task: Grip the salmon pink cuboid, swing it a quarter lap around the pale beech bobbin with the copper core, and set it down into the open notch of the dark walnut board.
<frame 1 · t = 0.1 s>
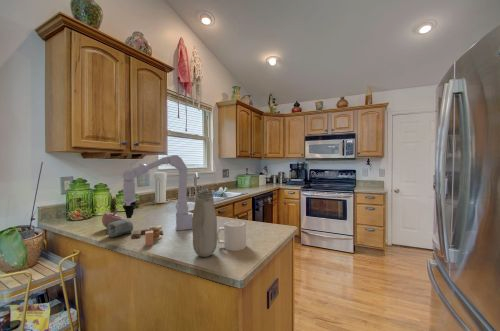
hand: (130, 216, 130), 10 cm above the counter, fingers open, 7 cm apart
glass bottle: (205, 255, 100), on the counter
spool: (120, 235, 131), on the counter
bobbin: (155, 238, 124), on the counter
salmon pink cuboid: (149, 244, 115), on the counter
mug: (232, 246, 110), on the counter
notched board: (147, 234, 130), on the counter
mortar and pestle: (114, 229, 142), on the counter
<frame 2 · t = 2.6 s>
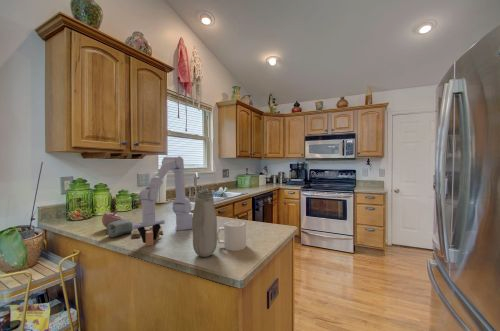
hand: (149, 241, 115), 1 cm above the counter, fingers closed on salmon pink cuboid, 4 cm apart
salmon pink cuboid: (149, 244, 115), on the counter, touching gripper
everything else where it was.
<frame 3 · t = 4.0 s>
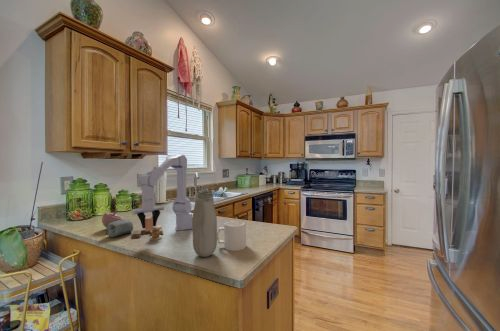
hand: (149, 226, 115), 8 cm above the counter, fingers closed on salmon pink cuboid, 4 cm apart
salmon pink cuboid: (149, 229, 115), point 7 cm above the counter, touching gripper
everything else where it was.
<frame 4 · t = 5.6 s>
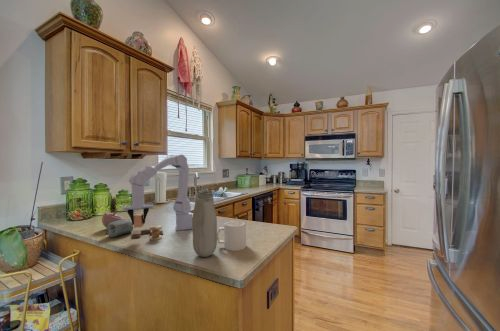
hand: (138, 223, 121), 8 cm above the counter, fingers closed on salmon pink cuboid, 4 cm apart
salmon pink cuboid: (138, 226, 121), point 7 cm above the counter, touching gripper
everything else where it was.
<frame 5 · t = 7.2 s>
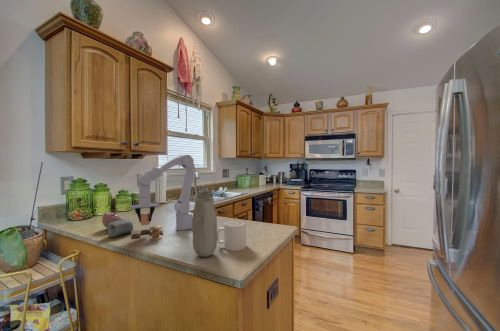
hand: (145, 221, 129), 7 cm above the counter, fingers closed on salmon pink cuboid, 4 cm apart
salmon pink cuboid: (145, 224, 129), point 6 cm above the counter, touching gripper
everything else where it was.
when the fingers open (3 cm above the counter, at t = 8.6 s): salmon pink cuboid drops 2 cm, on the counter.
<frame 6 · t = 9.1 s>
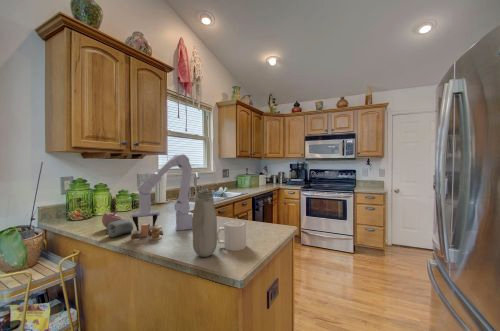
hand: (145, 229, 129), 3 cm above the counter, fingers open, 7 cm apart
salmon pink cuboid: (145, 235, 129), on the counter
everything else where it was.
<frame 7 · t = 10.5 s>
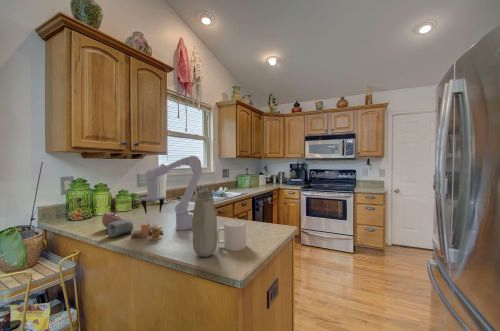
hand: (153, 212, 140), 10 cm above the counter, fingers open, 7 cm apart
nothing on the counter moved.
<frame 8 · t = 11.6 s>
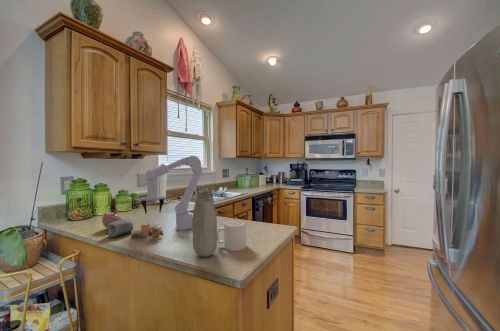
hand: (153, 212, 140), 10 cm above the counter, fingers open, 7 cm apart
nothing on the counter moved.
at the end: salmon pink cuboid 0.1 cm from the target spot on the notched board, point 0.0 cm above the notched board's base; salmon pink cuboid tilted 0°; the gripper is holding nothing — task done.
